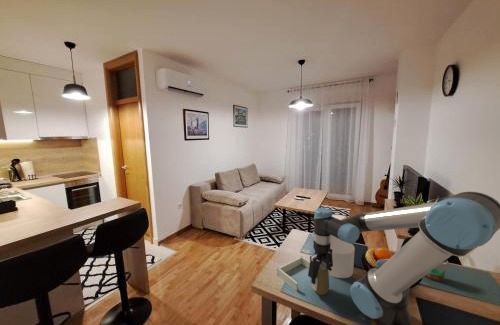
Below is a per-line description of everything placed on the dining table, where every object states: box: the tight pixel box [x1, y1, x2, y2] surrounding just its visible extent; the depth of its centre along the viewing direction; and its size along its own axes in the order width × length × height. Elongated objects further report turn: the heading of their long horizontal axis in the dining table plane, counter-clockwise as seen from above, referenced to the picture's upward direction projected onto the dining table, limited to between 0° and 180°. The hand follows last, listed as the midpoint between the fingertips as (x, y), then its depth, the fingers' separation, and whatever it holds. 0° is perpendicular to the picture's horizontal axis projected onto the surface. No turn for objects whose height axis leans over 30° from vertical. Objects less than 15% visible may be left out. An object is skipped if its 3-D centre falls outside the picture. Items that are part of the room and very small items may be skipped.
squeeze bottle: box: [313, 261, 330, 296], centre depth 99 cm, size 8×8×18 cm
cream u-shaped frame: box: [276, 255, 310, 292], centre depth 111 cm, size 14×19×4 cm
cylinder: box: [329, 214, 356, 279], centre depth 115 cm, size 17×17×28 cm
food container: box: [423, 260, 450, 283], centre depth 107 cm, size 12×6×10 cm, turn 65°
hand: (320, 284), depth 100 cm, fingers closed on squeeze bottle, 8 cm apart
